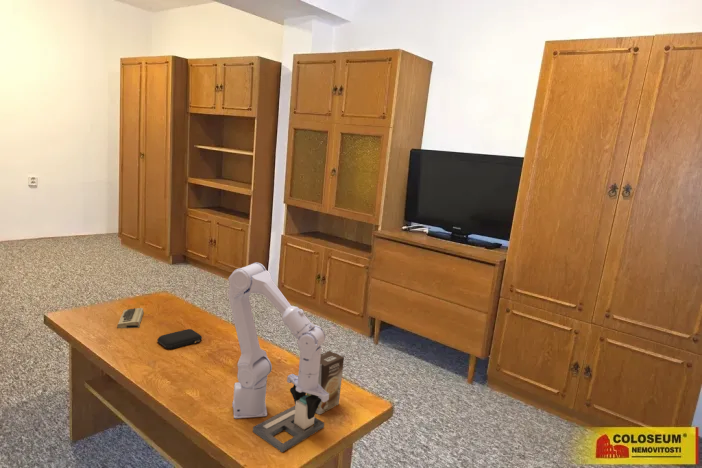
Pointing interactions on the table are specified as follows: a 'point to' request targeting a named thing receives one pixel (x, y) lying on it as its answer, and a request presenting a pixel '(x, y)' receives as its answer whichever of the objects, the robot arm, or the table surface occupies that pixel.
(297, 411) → the plug
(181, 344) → the carrying case or bag
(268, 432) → the panel
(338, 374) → the coffee box
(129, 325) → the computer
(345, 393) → the table surface
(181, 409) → the table surface
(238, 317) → the robot arm
